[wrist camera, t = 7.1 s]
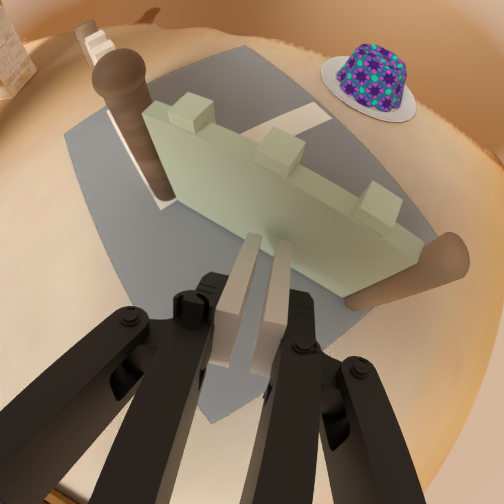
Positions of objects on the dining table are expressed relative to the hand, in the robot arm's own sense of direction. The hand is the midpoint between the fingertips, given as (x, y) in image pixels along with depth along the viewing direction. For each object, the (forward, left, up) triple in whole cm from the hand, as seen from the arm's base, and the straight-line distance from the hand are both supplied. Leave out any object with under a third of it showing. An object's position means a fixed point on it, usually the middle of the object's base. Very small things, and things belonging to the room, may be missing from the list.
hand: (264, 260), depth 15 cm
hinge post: (-9, -2, -5) cm, 11 cm away
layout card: (-8, +3, -5) cm, 10 cm away
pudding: (-10, +23, -5) cm, 26 cm away
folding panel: (-1, +2, -4) cm, 4 cm away
